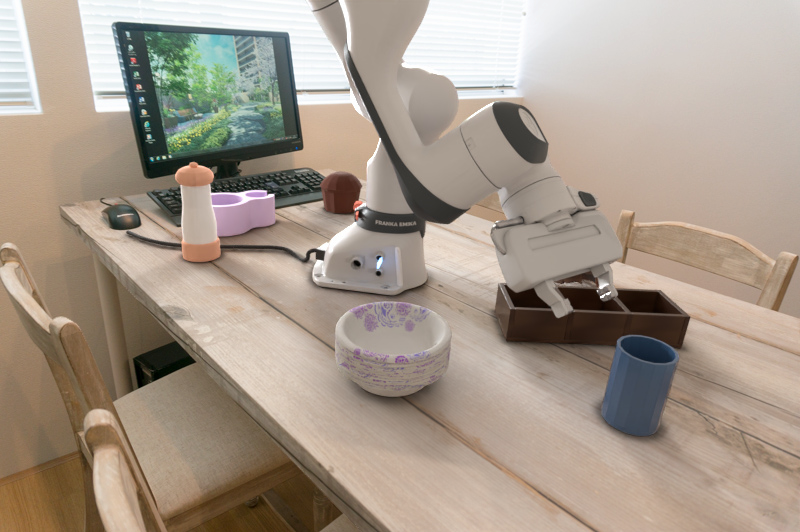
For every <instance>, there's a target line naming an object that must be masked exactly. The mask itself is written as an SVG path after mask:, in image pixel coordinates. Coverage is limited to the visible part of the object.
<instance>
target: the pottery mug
mask: <svg viewBox="0 0 800 532" xmlns="http://www.w3.org/2000/svg"><path fill="white" fill-rule="evenodd" d="M583 281H590V282H592V283H594V284H595V287H599V282H598V277H596V278H595V277H594V275H593V274H592V272H591V271H589V272H585V273H582V274H579V275H575V276H572V277H569V278H565V279H562V280H559V281H555V282H554V283H555V284H560V285H565V284H573V283H578V284H583Z"/></svg>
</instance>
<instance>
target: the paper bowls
mask: <svg viewBox="0 0 800 532" xmlns="http://www.w3.org/2000/svg"><path fill="white" fill-rule="evenodd" d="M334 330H335V331H334V332H335V333H334V339H335V341H334V346H335V349H334V358H335V364H336V367H337V369H338V371H339V372H340V373H341V374H342V375H343V376H344V377H345V378H346V379H348V380H351V381H352V382H354V383H356V384H357V385H358V386H359V387H360V388H362V389H363V390H365V391H366V392H369V393H371V394H374V395H376V396H381V397H387V398H388V397H389V398H397V397H399V398H400V397H406V396H409V395H412V394H415V393H417V392H418V391H421V390H422V389H423V388H424V387H427V386H429V385H431V384H433V383H436V382H437V381H438V380H440V379H441V378H442V377H443V376H444V374H445V373H446V372H447V370H448V367H449V364H450V357H451V350H452V349H451V348H452V343H451V342H452V330H451V327H450V325H449V322H447V320H446V319H445V318H444V317H443V316H441V315H440V314H439V313H437V312H436V311H433V310H432V309H429V308H427V307H425V306H421V305H418V304H415V303H410V302H404V301H391V300H390V301H389V300H388V301H387V300H385V301H375V302H369V303H365V304H361V305H357V306H355V307H353V308H351V309H349V310H348V311H346V312H345V313H344V314H343V315H341V317H340V318H339V319H338V321H337V323H336V325H335V329H334Z"/></svg>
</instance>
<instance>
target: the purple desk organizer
mask: <svg viewBox="0 0 800 532" xmlns="http://www.w3.org/2000/svg"><path fill="white" fill-rule="evenodd" d="M211 199H212V206H213V210H214V214H215V218H216V222H217V237H232V236H233V237H234V236H238V235H242V234H245V233H247V232H248V231H250V230H251V229H254V228H265V227H269V226H272V225H274V224H275V223H276V201H275V200H276V199H275V193H268V190H261V189H254V190H253V189H252V190H245V191H241V192H211Z"/></svg>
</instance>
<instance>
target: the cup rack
mask: <svg viewBox="0 0 800 532" xmlns="http://www.w3.org/2000/svg"><path fill="white" fill-rule="evenodd" d="M555 285H556V284H555ZM615 288H616V290H617V292H618V296H617V297H615V298H613V299H611V300H608V301H602V300H601V298H600V296H599V295H598V293H597V290H599V289H600V288H599V287H596V286H579V285H578V286H577V285H556V287H555V288H553V289H554V290H555V291H556V292H557V293H558V294H559V295H560V296H561V297H562V298H563V300H564V299H567V298H568V300H569V302H570V305H571V306H572V308H573V312H572V313H570V314H568V315H566V316H563V317H560V318H557V317H556V316H555V314H554V312H553V310H552V308H551V306H549V305H548V304H547V303H546V302H544V301H543V300H542V299H541V298H540V297H539V296H538V295H537V293H536V291H535V289H534V288H532V289H528V290H525V291H521V292H518V293H516V292H514V291H513V290H512V289H511V288H509V287H508V285H507V283H506V282H498V284H497V291H496V299H495V306H494V314H495V318H496V319H497V322H498V324H499V327H500V330H501V332H502V335H503V337H504V340H505V341H506V342H522V343H523V342H525V343H548V344H549V343H550V344H577V345H596V346H597V345H598V346H600V345H601V346H616V343H617V340H618V339H619V338H621V337H622V336H627V335H642V336H647V337H651V338H654V339H657V340H660V341H662V342H665V343H666V344H668V345H670V346H671V347H673V348H674V349H682V347H683V344H684V341H685V338H686V334H687V331H688V327H689V325H690V321H691V315H689V314H688V313H687V312H686V311H685V310H684V309H682V307H680V306H679V305H678V304H677V303H676V302H675V301H673V300H672V298H670V297H669V296H668V295H667V294H666V293H665V292H664V291H662V290H661V289H647V288H644V289H643V288H623V287H615Z"/></svg>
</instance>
